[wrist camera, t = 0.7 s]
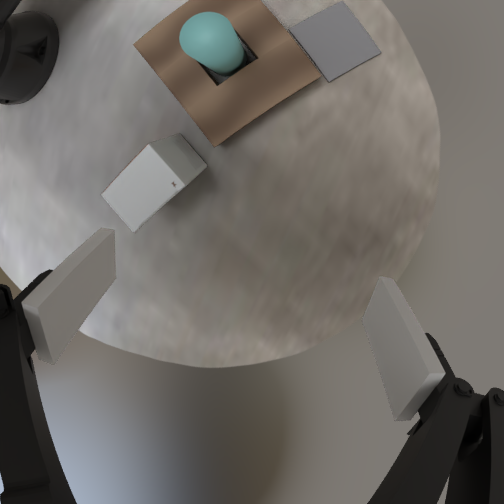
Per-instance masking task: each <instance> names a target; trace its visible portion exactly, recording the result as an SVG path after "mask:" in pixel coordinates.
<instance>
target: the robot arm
mask: <svg viewBox="0 0 504 504" xmlns="http://www.w3.org/2000/svg"><path fill="white" fill-rule="evenodd" d="M21 1H22V0H0V104H5V105H11V104H19V103H23V102H25V101H27V100H29V99H31V98H32V97H33V96H34V95H35V94H36V93H37V92H38V91H39V90H40V89H41V88H42V87H43V85H44V84H45V82H46V81H47V79H48V77H49V75H50V73H51V71H52V69H53V66H54V64H55V60H56V57H57V52H58V43H59V38H58V31H57V27H56V25H55V23H54V21H53V20H52V18H51V17H49V16H48V15H46V14H43V13H39V12H35V11H27V12H23V13H18V14H13V15H11V14H12V13H13V11H14V10H15V9H16V7H17V6H18V5H19V3H20V2H21ZM115 279H116V268H115V236H114V230H111V229H105V228H100V229H99V230H98V231H97V232H96V233H94V234H93V235H92V236H91V237H90V238H89V239H87V240H86V241H85V242H84V243H83V244H82V245H81V246H80V247H78V248H77V249H76V250H75V251H74V252H73V253H72V254H71V255H70V256H69V257H67V258H66V259H65V260H64V261H63V262H62V263H61V264H60V265H59V266H58V267H57V268H56V269H55V270H50V269H49V270H47V271H45V272H43V273H41V274H40V275H38V276H37V277H36V278H35V279H34V280H33V282H31V283H30V284H29V285H28V287H26V288H25V289H24V290H23V291H22V292H21V293H20V294H19V295H18V296H17V297H16V298H15V299H14V300H13V298H12V294H11V291H10V288H9V287H8V286H7V285H3V284H0V473H1V477H2V481H3V486H4V491H3V492H2V493H1V494H0V501H1V504H77V503H76V501H75V499H74V496H73V494H72V492H71V489H70V487H69V484H68V482H67V480H66V477H65V474H64V472H63V469H62V467H61V464H60V461H59V458H58V455H57V453H56V450H55V447H54V444H53V441H52V437H51V434H50V431H49V428H48V424H47V421H46V417H45V413H44V410H43V406H42V402H41V398H40V394H39V390H38V385H37V380H36V375H35V371H34V365H33V360H32V358H31V354H32V352H33V351H34V350H35V349H36V352H37V355H38V358H39V359H40V360H42V361H44V362H47V363H50V364H52V365H55V363H56V362H57V360H58V359H59V357H60V356H61V354H62V353H63V351H64V350H65V348H66V347H67V345H68V344H69V342H70V341H71V339H72V338H73V337H74V335H75V334H76V332H77V331H78V329H79V328H80V327H81V325H82V324H83V322H84V321H85V320H86V318H87V317H88V315H89V314H90V313H91V311H92V310H93V308H94V307H95V306H96V304H97V303H98V302H99V300H100V299H101V298H102V296H103V295H104V294H105V292H106V291H107V290H108V288H109V287H110V286H111V284H112V283H113V282H114V280H115ZM362 323H363V326H364V328H365V331H366V334H367V337H368V340H369V343H370V345H371V348H372V351H373V354H374V357H375V360H376V363H377V366H378V369H379V372H380V375H381V378H382V381H383V385H384V388H385V391H386V394H387V397H388V400H389V404H390V407H391V410H392V414H393V417H394V421H406V420H411V419H412V418H413V416H414V415H415V414H416V413H417V411H418V412H419V415H420V419H419V421H418V422H417V423H416V424H415V425H414V426H413V428H412V429H411V430H410V431H409V432H408V433H407V434H408V435H410V436H409V438H408V440H407V442H406V443H405V445H404V447H403V449H402V450H401V452H400V454H399V456H398V457H397V459H396V461H395V463H394V464H393V466H392V467H391V469H390V470H389V472H388V474H387V475H386V477H385V478H384V480H383V481H382V483H381V484H380V486H379V488H378V489H377V490H376V492H375V494H374V495H373V496H372V498H371V499H370V501H369V502H368V503H367V504H437V502H438V500H439V498H440V495H441V493H442V491H443V489H444V486H445V484H446V482H447V479H448V477H449V482H448V489H447V495H446V500H445V504H504V391H503V390H501V389H499V388H491V389H490V391H489V392H488V393H487V394H486V395H485V396H484V395H480V394H477V393H474V390H473V388H472V387H471V385H470V384H469V383H468V382H466V381H465V380H463V379H461V378H456V377H455V375H454V373H453V371H452V369H451V367H450V365H449V364H448V362H447V360H446V358H445V357H444V354H443V353H442V351H441V350H440V347H439V345H438V343H437V342H436V340H435V339H434V338H433V337H432V336H431V335H430V334H429V333H424V331H423V329H422V327H421V326H420V324H419V322H418V320H417V318H416V317H415V315H414V313H413V311H412V310H411V308H410V306H409V305H408V303H407V301H406V300H405V298H404V296H403V294H402V293H401V291H400V289H399V288H398V286H397V285H396V283H395V281H394V280H393V278H388V277H382V276H379V279H378V282H377V284H376V287H375V289H374V292H373V294H372V297H371V299H370V301H369V304H368V306H367V309H366V311H365V313H364V316H363V318H362ZM449 474H450V475H449Z"/></svg>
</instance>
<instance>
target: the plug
mask: <svg viewBox="0 0 504 504" xmlns="http://www.w3.org/2000/svg"><path fill="white" fill-rule="evenodd" d="M179 41H180V45H181V47H182V49H183V51H184V52H185V53H186V54H187V55H189V56H190V57H192V58H194V59H195V60H197V61H198V62H200V63H202V64H203V65H205V66H206V67H208V68H209V69H211V70H212V71H214V72H216V73H217V74H219V75H222V76H232V75H234V74H235V73H237V72H238V71H240V70H241V69H243V68H244V67H245V65H246V61H247V56H246V53H245V51H244V49H243V47H242V45H241V43H240V40H239V38H238V36H237V34H236V32H235V30H234V28H233V26H232V25H231V23H230V21H229V20H228V19H227V18H226V17H225V16H223V15H221V14H219V13H215V12H203V13H199V14H196V15H194V16H193V17H191V18H190V19H189V20H187V21H186V22H185V24H184V25H183V27H182V29H181V31H180V36H179Z"/></svg>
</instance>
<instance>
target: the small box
mask: <svg viewBox="0 0 504 504" xmlns="http://www.w3.org/2000/svg"><path fill="white" fill-rule="evenodd" d="M206 167H207V164H206V163H205V162H204V161H203V160H202V159H201V158H200V156H199V155H198V154H197V153H196V152H195V151H194V149H193V148H192V147H191V146H190V145H189V144H188V142H187V141H186V140H185V139H184V138H183V137H182V136H181V134H176V135H173V136H170V137H167V138H164V139H161V140H158V141H155V142H152V143H149V144H147V145H146V146H145V147H144V148H143V149H142V150H141V151H140V153H139V154H138V155H137V156H136V157H135V158H134V159H133V160H132V161H131V162H130V163H129V164H128V165H127V166H126V167H125V168H124V169H123V170H122V171H121V172H120V174H119V175H118V176H117V177H116V178H115V179H114V180H113V181H112V182H111V184H110V185H109V186H108V187H107V188H106V189H105V190H104V191H103V193H102V194H101V196H102V197H103V198H104V199H105V201H106V202H107V203H108V204H109V205H110V207H111V208H112V209H113V210H114V211H115V212H116V214H117V215H118V216H119V217H120V218H121V219H122V220H123V222H124V223H125V224H126V225H127V226H128V227H129V228H130V230H131V231H132V232H133V233H135V232H137V231H138V230H139V229H140V228H141V227H142V226H143V225H144V224H145V223H146V222H147V221H148V220H149V219H150V218H151V217H152V216H153V215H154V214H155V213H156V212H157V211H158V210H160V209H161V208H162V207H163V206H164V205H165V204H166V203H167V202H168V201H170V200H171V199H172V198H173V197H174V196H175V195H176V194H177V193H179V192H180V191H181V190H182V189H183V188H185V187H186V186H187V185H188V184H189V183H190V182H191V181H192V180H193V179H194V178H195V177H197V176H198V175H199V174H200V173H201V172H202V171H203V170H204V169H205V168H206Z"/></svg>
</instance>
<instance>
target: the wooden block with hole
mask: <svg viewBox="0 0 504 504" xmlns="http://www.w3.org/2000/svg"><path fill="white" fill-rule="evenodd" d="M203 12H215V13H219V14H221V15H223V16H225V17H226V18H227V19H228V20H229V21H230V23H231V25H232V26H233V28H234V30H235V32H236V34H237V36H238V37H239V38H240V39H241V41H242V42H243V43H244V44H245V45H246V47H247V48H248V49H249V50H250V51H251V53H252V54H253V55H254V56H255V58H256V60H255V61H253V62H252V63H250V64H249V65H247V66H246V67H244V68H243V69H241V70H240V71H238V72H237V73H235V74H234V75H232V76H231V77H230V78H228V79H227V80H225V81H224V82H223V83H221V84H220V85H219V83H218V82H217V81H216V80H215V78H214V77H213V76H212V75H211V73H210V72H209V71H208V70H207V69H206V67H205V66H204V65H203V64H202V63H200V62H198V61H197V60H195V59H194V58H192V57H190V56H189V55H187V54H186V53H185V52H184V51H183V49H182V47H181V45H180V41H179V36H180V31H181V29H182V27H183V25H184V24H185V22H186V21H187V20H189V19H190V18H191V17H193V16H194V15H196V14H199V13H203ZM133 45H134V46H135V48H136V49H137V50H138V51H139V53H140V54H141V55H142V56H143V57H144V59H145V60H146V61H147V62H148V64H149V65H150V66H151V67H152V69H153V70H154V71H155V72H156V74H157V75H158V76H159V77H160V79H161V80H162V81H163V82H164V84H165V85H166V86H167V87H168V89H169V90H170V91H171V92H172V94H173V95H174V96H175V97H176V99H177V100H178V101H179V102H180V104H181V105H182V106H183V108H184V109H185V110H186V111H187V113H188V114H189V115H190V117H191V118H192V119H193V120H194V122H195V123H196V124H197V126H198V127H199V128H200V129H201V131H202V132H203V133H204V135H205V136H206V137H207V139H208V140H209V141H210V142H211V144H212V145H213V146H214V147H216V146H217V145H219V144H221V143H222V142H223V141H225V140H226V139H227V138H229V137H230V136H232V135H233V134H234V133H236V132H237V131H239V130H240V129H241V128H243V127H244V126H246V125H247V124H249V123H250V122H252V121H253V120H254V119H256V118H257V117H259V116H260V115H262V114H263V113H265V112H266V111H268V110H269V109H271V108H272V107H274V106H275V105H277V104H278V103H280V102H281V101H283V100H285V99H286V98H288V97H289V96H291V95H292V94H294V93H296V92H297V91H299V90H300V89H302V88H304V87H305V86H307V85H308V84H310V83H312V82H313V81H315V80H317V79H318V78H319V77H321V75H320V73H319V72H318V71H317V69H316V68H315V67H314V65H313V64H312V62H311V61H310V60H309V58H308V57H307V56H306V55H305V53H304V52H303V51H302V49H301V48H300V47H299V46H298V44H297V43H296V42H295V40H294V39H293V38H292V37H291V36H290V34H289V33H288V32H287V31H286V29H285V28H284V27H283V26H282V25H281V23H280V22H279V21H278V20H277V19H276V18H275V16H274V15H273V14H272V13H271V12H270V11H269V10H268V8H267V7H266V6H265V5H264V4H263V3H262V2H261V1H260V0H189V1H188V2H186V3H185V4H183V5H182V6H181V7H179V8H178V9H177V10H175V11H174V12H173V13H171V14H170V15H169V16H167V17H166V18H165V19H163V20H162V21H161V22H160V23H158V24H157V25H156V26H155V27H153V28H152V29H151V30H150V31H148V32H147V33H146V34H145V35H144V36H142V37H141V38H140V39H139V40H138V41H137V42H136V43H134V44H133Z"/></svg>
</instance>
